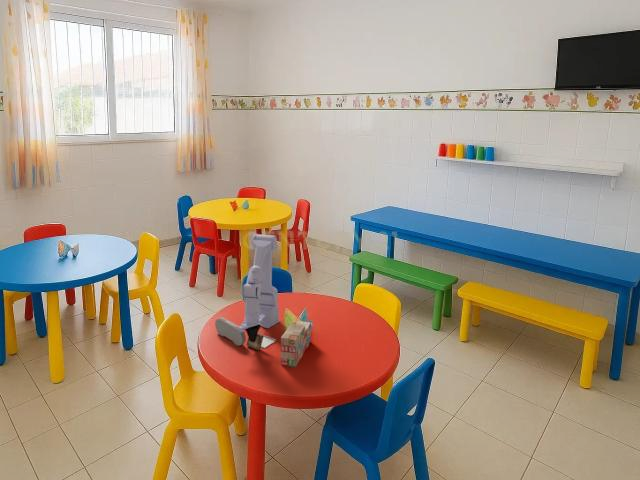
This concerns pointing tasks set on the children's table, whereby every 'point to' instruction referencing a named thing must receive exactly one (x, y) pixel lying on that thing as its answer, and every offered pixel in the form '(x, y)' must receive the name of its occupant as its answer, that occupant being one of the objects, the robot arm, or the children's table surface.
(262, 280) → the robot arm
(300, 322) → the stack of blocks
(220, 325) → the game controller
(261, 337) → the walnut tile
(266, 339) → the mat
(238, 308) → the children's table surface
